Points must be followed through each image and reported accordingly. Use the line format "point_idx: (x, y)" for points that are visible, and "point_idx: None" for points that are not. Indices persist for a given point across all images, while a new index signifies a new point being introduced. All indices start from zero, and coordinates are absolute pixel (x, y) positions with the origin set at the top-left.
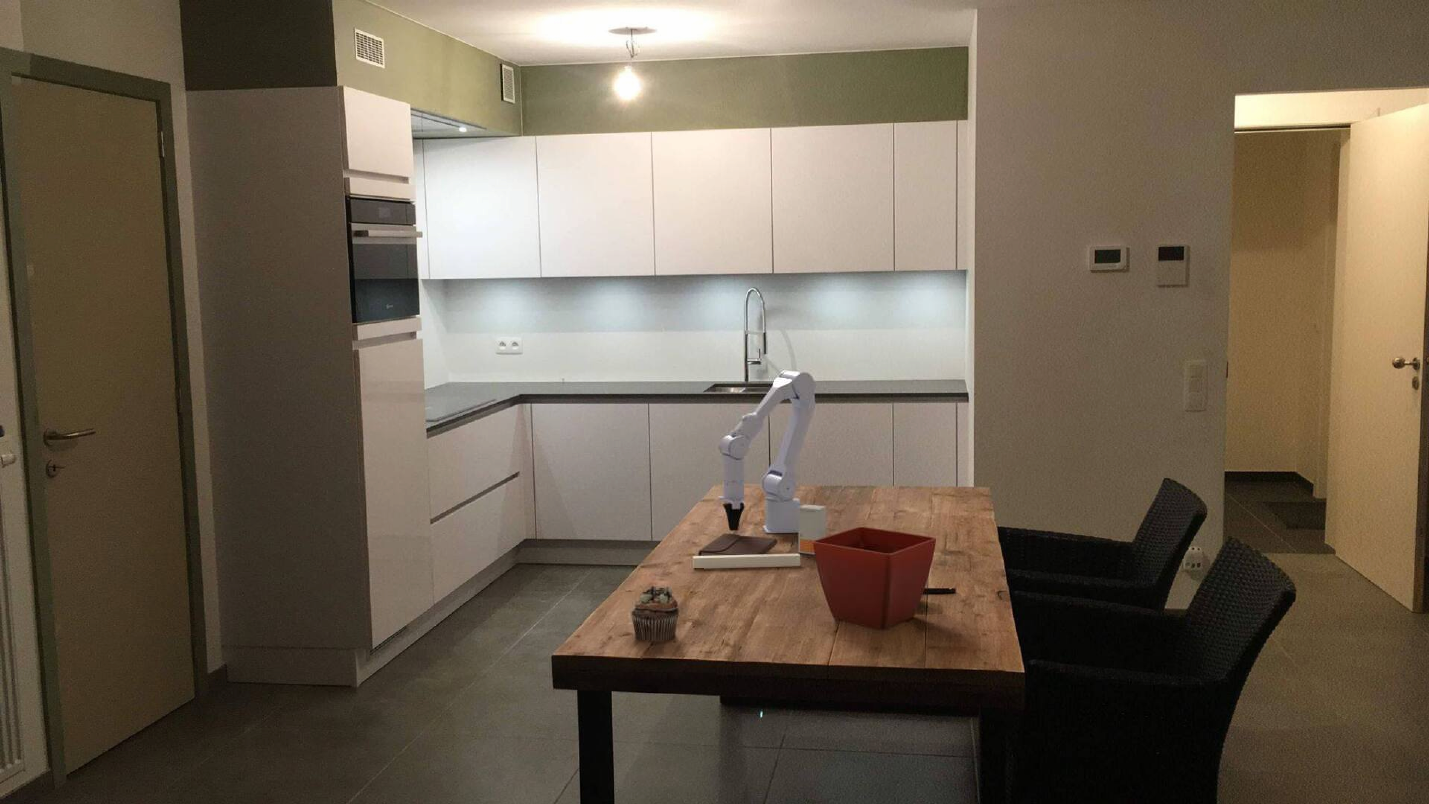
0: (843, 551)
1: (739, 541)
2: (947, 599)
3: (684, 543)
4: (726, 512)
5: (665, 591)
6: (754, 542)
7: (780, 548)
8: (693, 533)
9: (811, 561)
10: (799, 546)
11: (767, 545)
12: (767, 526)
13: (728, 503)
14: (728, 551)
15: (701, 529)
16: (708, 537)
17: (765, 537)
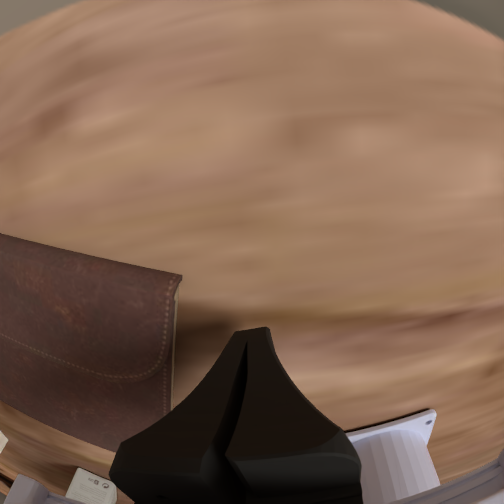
0: None
1: (59, 365)
2: (8, 490)
3: (36, 74)
4: (153, 425)
5: None
6: (75, 410)
7: (101, 451)
8: (312, 48)
9: (37, 462)
10: (72, 480)
11: (66, 433)
12: (361, 450)
13: (344, 484)
14: None
15: (436, 102)
16: (196, 172)
17: None
